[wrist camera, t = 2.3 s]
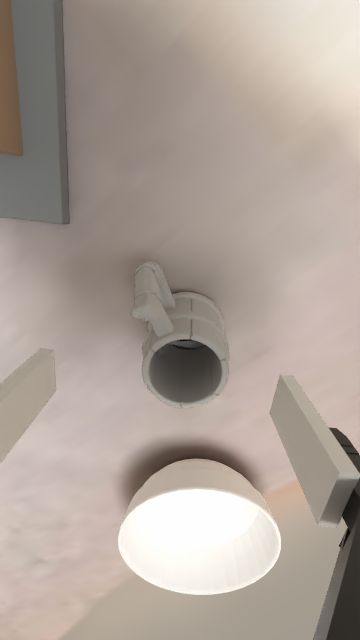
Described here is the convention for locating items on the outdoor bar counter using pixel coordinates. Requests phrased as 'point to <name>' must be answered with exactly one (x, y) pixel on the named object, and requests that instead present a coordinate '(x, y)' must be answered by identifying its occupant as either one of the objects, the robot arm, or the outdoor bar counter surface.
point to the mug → (177, 324)
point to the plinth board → (33, 112)
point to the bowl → (199, 529)
